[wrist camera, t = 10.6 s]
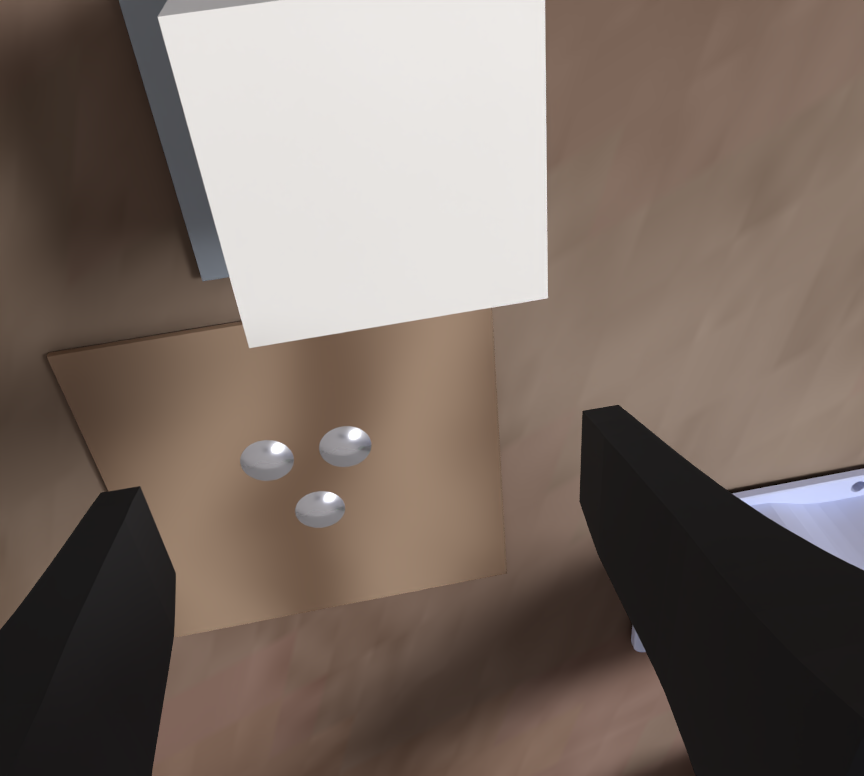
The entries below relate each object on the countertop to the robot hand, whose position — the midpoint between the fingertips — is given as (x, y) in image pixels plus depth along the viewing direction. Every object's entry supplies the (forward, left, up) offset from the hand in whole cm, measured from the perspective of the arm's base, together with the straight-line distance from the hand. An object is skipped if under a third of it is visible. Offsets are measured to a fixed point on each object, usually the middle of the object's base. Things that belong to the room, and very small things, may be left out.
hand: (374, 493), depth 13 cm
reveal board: (+2, +8, -10) cm, 12 cm away
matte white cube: (-1, -4, -9) cm, 10 cm away
